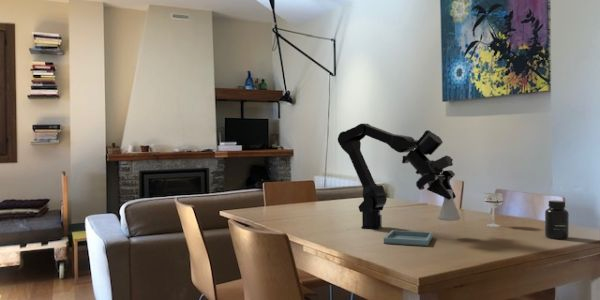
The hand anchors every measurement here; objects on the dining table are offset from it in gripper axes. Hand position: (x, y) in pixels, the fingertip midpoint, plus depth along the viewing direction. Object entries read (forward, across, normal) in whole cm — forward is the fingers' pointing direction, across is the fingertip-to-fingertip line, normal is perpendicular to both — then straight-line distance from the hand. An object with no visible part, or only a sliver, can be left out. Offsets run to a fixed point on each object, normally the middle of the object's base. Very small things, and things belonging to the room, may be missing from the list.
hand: (452, 198), depth 156 cm
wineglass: (+11, +31, +8) cm, 34 cm away
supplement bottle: (+28, +21, -9) cm, 36 cm away
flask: (+4, 0, +6) cm, 8 cm away
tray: (+3, -12, +16) cm, 21 cm away
